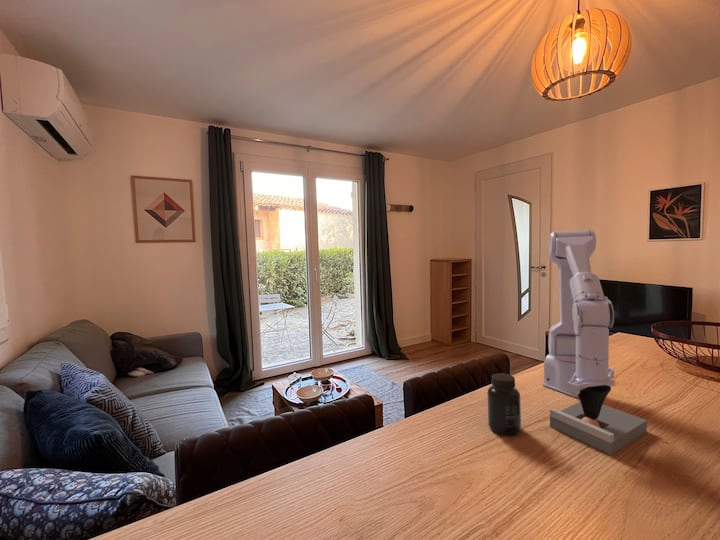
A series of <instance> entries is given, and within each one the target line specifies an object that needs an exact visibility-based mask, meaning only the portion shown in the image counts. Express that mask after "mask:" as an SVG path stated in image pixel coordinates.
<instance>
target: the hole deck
mask: <svg viewBox="0 0 720 540" xmlns="http://www.w3.org/2000/svg"><path fill="white" fill-rule="evenodd" d="M584 417H586V416H585V415H584V412H583V408H582V405H581V401H580V400H579V401H578V402H575V403H574V404H571V405H569V406H567V407H565V408H563V409H562V410H559V409H556V408H555V407H552V408H550V409H549V427H550V428H553V429H555V430H557V431H558V432H560V433H563V434H565V435H567V436H569V437H571V438H573V439H576V440H578V441H580V442H582V443H584V444H586V445H588V446H590V447H592V448H594V449H596V450H598V451H601V452H602V453H605V454H607V455H609V456H612V455H613V454H615V453H616V452H618V451H620V450H621V449H622V448H624V447H626V446H627V445H629V444H630V443H631V442H633V441H635V440H636V439H638V438H639V437H640V436H642V435H643V434H645V433H647V431H648V420H647V419H645V418H642V417H639V416H638V415H634V414H631V413H628V412H625V411H622V410H620V409H618V408H617V409H616V408H614V407H611V406H609V405H606V404H604V403H603V404H602V407H601V411H600V414H599V417H598V418H597V419H595V420H596V421H597V422H598V423H599V426H600V428H599V427H597V426H594V425H592V424H590V423H587V422H585V421H583V420H581V419H582V418H584Z"/></svg>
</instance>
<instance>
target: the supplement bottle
mask: <svg viewBox="0 0 720 540" xmlns="http://www.w3.org/2000/svg"><path fill="white" fill-rule="evenodd" d="M521 406H522V405H521V394H520V392H519V390H518V388H516V380H515V376H513V375H511V374H509V373H503V372H498V373H493V374H492V375H491V385H490V386H489V387H488V389H487V418H488V419H487V421H488V426H489V429H490V430H491V431H492V432H494V433H496V434H498V435H502V436H507V437H513V436H517V435H519V434H520V432H522V431H521V429H522V411H521V409H522V408H521Z"/></svg>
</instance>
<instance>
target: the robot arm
mask: <svg viewBox="0 0 720 540" xmlns="http://www.w3.org/2000/svg"><path fill="white" fill-rule="evenodd" d="M596 247H597V236H596V233H595V232H594V230H592V229H587V230H571V231H569V230H567V231H566V230H565V231H553V230H552V232H551V233H550V234H549V235H548V253H549V254H548V255H549V256H548V257H549V259H550V262H552V263H555V264H556V266H557V269H558V285H559V286H558V287H559V288H558V289H559V291H558V294H559V296H558V297H559V322H557V323H556V324H553V325H552V326H551V327H549V329H548V337H547V338H548V339H547V340H548V341H547V342H548V343H547V344H548V345H547V346H548V347H547V348H548V352H549V353H548V354H547V355H546V356H545V359H544V363H543V383H542V386H544V387H546V388H550V389H552V390H554V391H558V392H560V393H563V394H565V395H568V396H570V397H572V398H573V397H574V398H579V402H580V401H581V405H582V408H583V412H584V415H585V416H586V417H589V418H591V419H594V420H595V419H597V418H598V417H599V414H600V411H601V407H602V404H604V402H605V399H606V398H607V396H608V395H609V394H610V392H611V390H612V387H613V386H615V380H613V379H614V378H615V369H614V368H613V369H612V368H609V357H610V355H609V352H610V345H609V343H610V341H609V340H610V334H609V333H610V329H612V328H613V326H614V322H615V312H614V306H613V303H612V301H611V300H610V299H609V298H608V296H605V294H604V291H603V288H602V284H601V282H600V278H599V276H598V275H597V274H594V273H593V272H592V270H591V269H592V268H591V262H590V261H591V260H590V258H591V257H592V255H593V253H594V251H595V250H596Z"/></svg>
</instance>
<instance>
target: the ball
mask: <svg viewBox="0 0 720 540" xmlns="http://www.w3.org/2000/svg"><path fill="white" fill-rule="evenodd" d="M581 420H583V421H585V422H587V423H590V424H592V425H594V426H597V427H599V428H600V426H599V423H598V422H597V421H596V420H594V419H591V418H589V417H584V418H582V419H581Z"/></svg>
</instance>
